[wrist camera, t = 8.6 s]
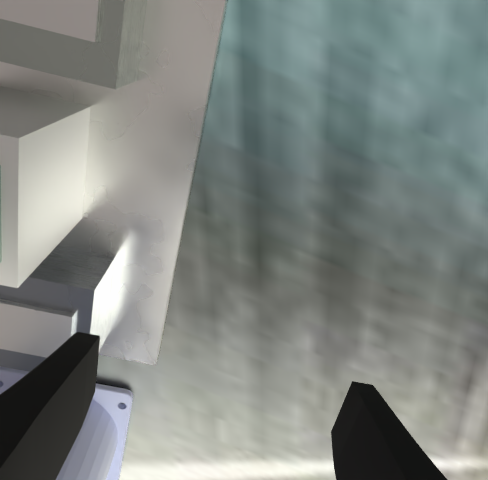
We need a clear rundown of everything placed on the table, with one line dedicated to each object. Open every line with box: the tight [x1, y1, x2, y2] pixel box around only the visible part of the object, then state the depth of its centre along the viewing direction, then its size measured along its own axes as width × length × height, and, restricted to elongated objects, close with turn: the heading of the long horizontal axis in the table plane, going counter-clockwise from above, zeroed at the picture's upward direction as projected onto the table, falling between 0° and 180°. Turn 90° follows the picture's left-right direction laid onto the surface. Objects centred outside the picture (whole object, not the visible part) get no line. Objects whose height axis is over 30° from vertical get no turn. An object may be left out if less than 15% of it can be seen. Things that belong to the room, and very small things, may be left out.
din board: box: [0, 0, 228, 372], centre depth 18 cm, size 20×14×4 cm
